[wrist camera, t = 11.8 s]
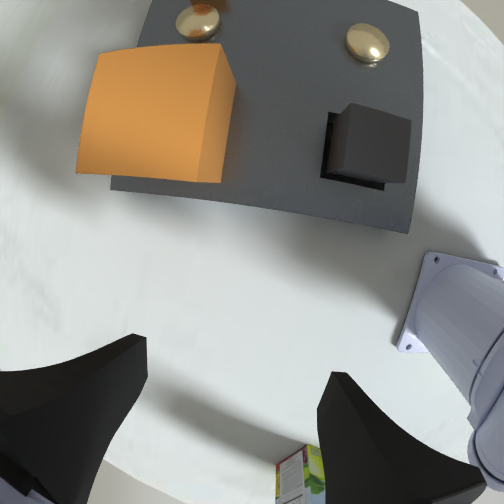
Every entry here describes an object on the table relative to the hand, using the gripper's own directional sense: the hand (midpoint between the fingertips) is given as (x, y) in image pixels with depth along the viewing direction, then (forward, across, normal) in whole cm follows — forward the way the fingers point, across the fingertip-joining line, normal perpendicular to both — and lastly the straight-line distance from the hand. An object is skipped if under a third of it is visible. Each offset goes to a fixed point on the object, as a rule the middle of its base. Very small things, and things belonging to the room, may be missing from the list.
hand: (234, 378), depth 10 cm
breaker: (+7, -4, -10) cm, 13 cm away
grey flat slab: (+9, +1, -14) cm, 17 cm away
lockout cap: (+7, +6, -10) cm, 13 cm away
